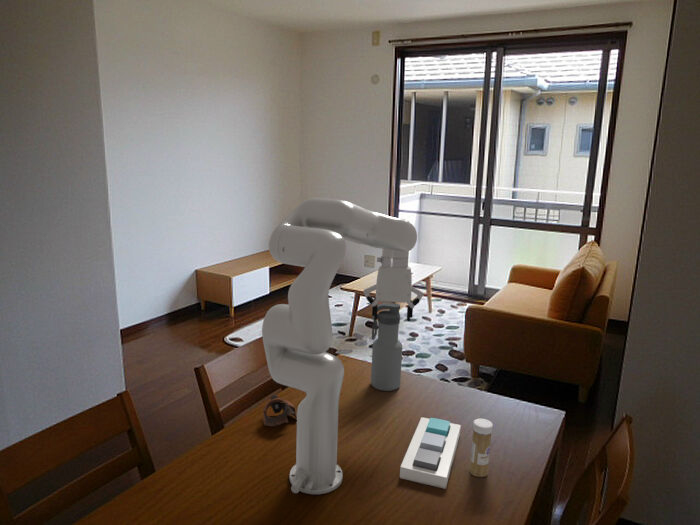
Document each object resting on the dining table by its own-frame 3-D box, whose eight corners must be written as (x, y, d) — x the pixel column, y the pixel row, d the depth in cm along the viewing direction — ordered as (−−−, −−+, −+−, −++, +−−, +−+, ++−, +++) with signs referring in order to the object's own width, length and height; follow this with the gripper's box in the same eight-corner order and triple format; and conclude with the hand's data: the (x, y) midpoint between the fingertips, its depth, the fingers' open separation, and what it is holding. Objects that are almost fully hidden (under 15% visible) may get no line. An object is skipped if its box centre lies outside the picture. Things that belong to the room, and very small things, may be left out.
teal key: (446, 439, 137) (446, 431, 137) (426, 435, 139) (426, 426, 138) (449, 429, 142) (450, 421, 142) (429, 425, 144) (430, 417, 143)
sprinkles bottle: (484, 480, 124) (490, 429, 121) (466, 474, 126) (471, 424, 123) (489, 470, 128) (495, 421, 125) (471, 464, 130) (476, 415, 127)
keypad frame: (445, 489, 120) (446, 477, 120) (399, 477, 124) (400, 466, 123) (459, 434, 143) (460, 425, 143) (420, 426, 147) (421, 417, 146)
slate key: (441, 455, 130) (442, 446, 129) (420, 451, 132) (420, 442, 131) (444, 444, 135) (445, 436, 134) (424, 440, 137) (424, 431, 136)
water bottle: (366, 389, 168) (370, 307, 162) (372, 377, 178) (376, 298, 172) (398, 393, 166) (403, 310, 160) (401, 380, 176) (406, 301, 169)
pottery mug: (305, 426, 146) (296, 409, 141) (275, 445, 144) (265, 428, 139) (289, 398, 155) (280, 382, 150) (261, 416, 153) (251, 399, 148)
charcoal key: (435, 474, 122) (436, 464, 122) (413, 468, 124) (413, 459, 124) (439, 461, 127) (440, 452, 127) (417, 456, 129) (418, 447, 129)
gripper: (364, 263, 144) (362, 321, 148) (426, 266, 144) (422, 324, 148) (364, 258, 152) (362, 313, 155) (424, 260, 151) (420, 316, 155)
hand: (391, 319), depth 152 cm, fingers open, 9 cm apart
